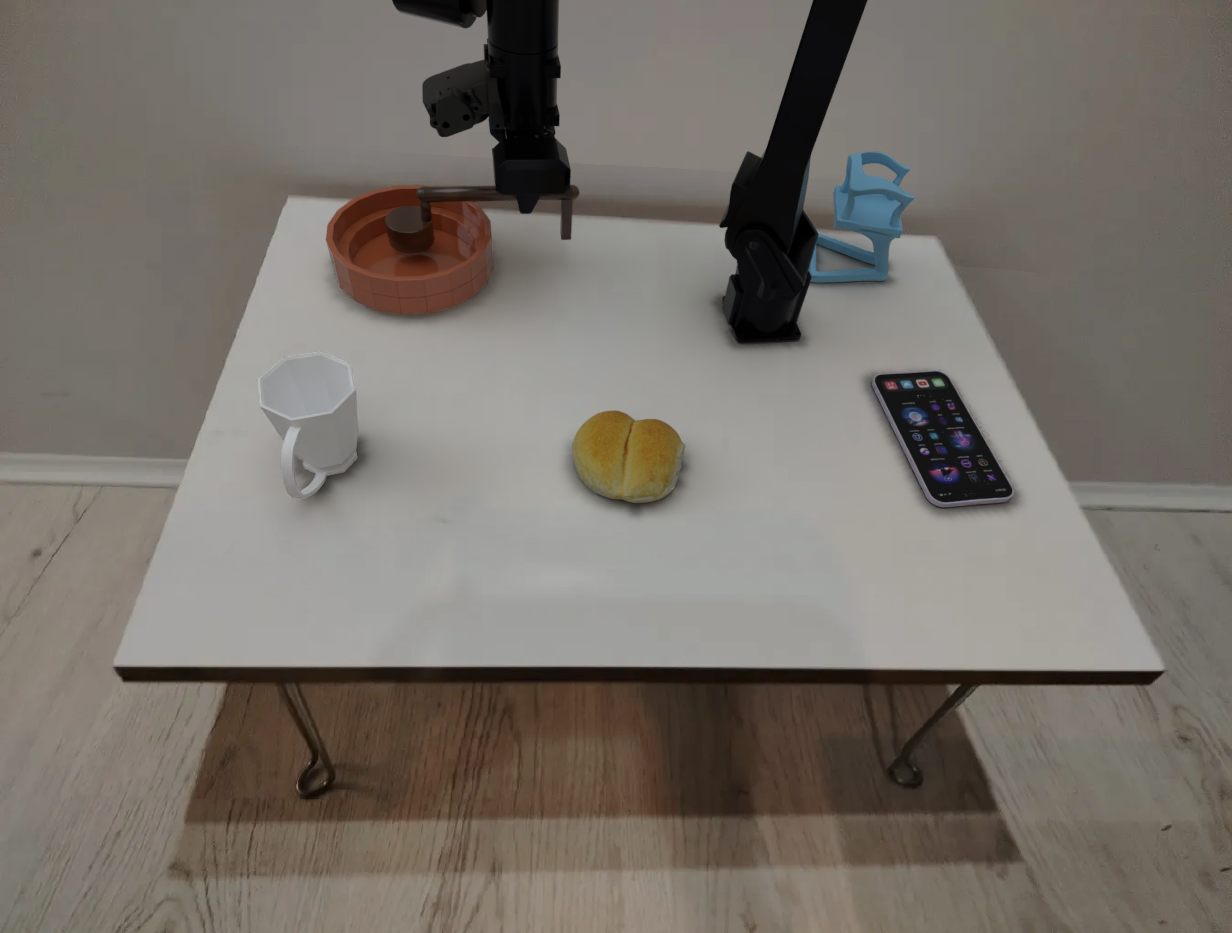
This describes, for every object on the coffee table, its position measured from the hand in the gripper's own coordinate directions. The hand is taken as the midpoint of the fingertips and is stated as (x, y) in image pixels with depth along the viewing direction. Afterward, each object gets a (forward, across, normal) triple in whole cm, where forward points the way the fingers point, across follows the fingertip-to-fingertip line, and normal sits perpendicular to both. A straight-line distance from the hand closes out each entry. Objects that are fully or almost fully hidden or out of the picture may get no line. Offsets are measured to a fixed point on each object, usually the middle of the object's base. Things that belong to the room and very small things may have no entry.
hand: (524, 207), depth 76 cm
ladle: (+3, 0, -4) cm, 5 cm away
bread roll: (+6, +28, +6) cm, 29 cm away
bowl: (+6, +2, -11) cm, 12 cm away
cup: (+6, +26, -18) cm, 33 cm away
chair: (+6, +4, +34) cm, 35 cm away
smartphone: (+6, +28, +34) cm, 44 cm away
